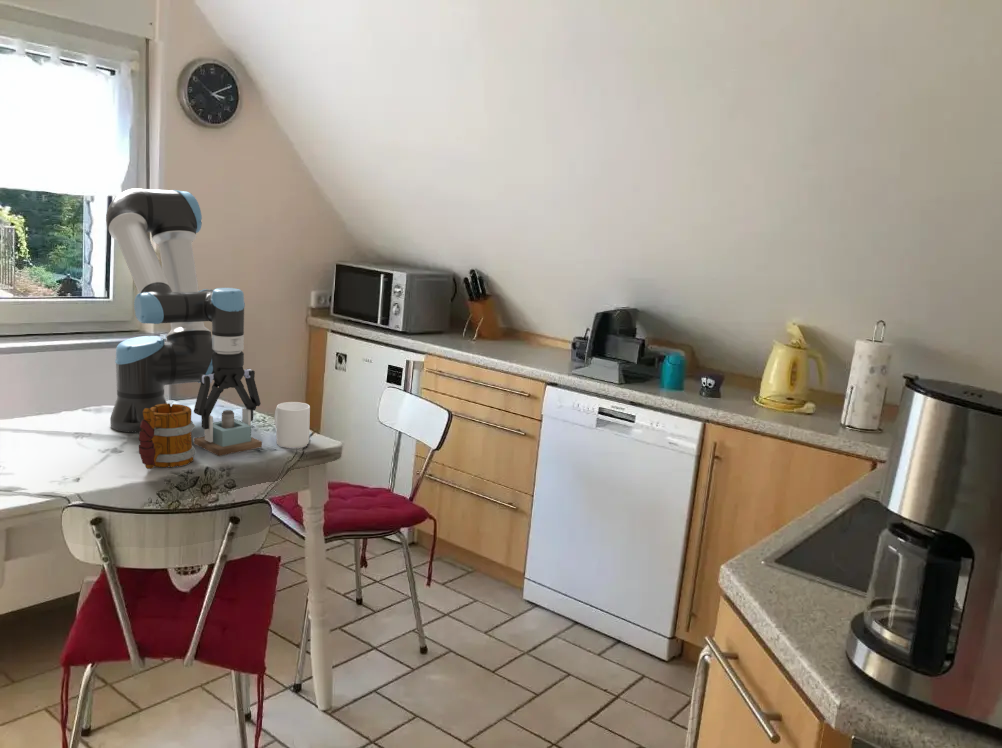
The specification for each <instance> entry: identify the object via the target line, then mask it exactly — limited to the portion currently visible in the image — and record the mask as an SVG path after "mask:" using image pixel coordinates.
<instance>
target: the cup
mask: <svg viewBox="0 0 1002 748" xmlns="http://www.w3.org/2000/svg"><path fill="white" fill-rule="evenodd" d="M310 413H311V406H310V405H309V404H308V403H306V402H299V401H288V402H281V403H278V404H277V405H276V408H275V412H274V417H273V418H274V419H273V420H274V427H275V429H276V436H275V437H276V444H277V445H278V446H279V447H281V448H285V449H299V448H300V447H301V448H304V447H306V446H308V445H307V444H309V442H310V427H311V426H310V421H311V420H310V419H311V418H310V417H311V416H310V415H311V414H310ZM303 446H304V447H303ZM301 448H300V449H301Z"/></svg>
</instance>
